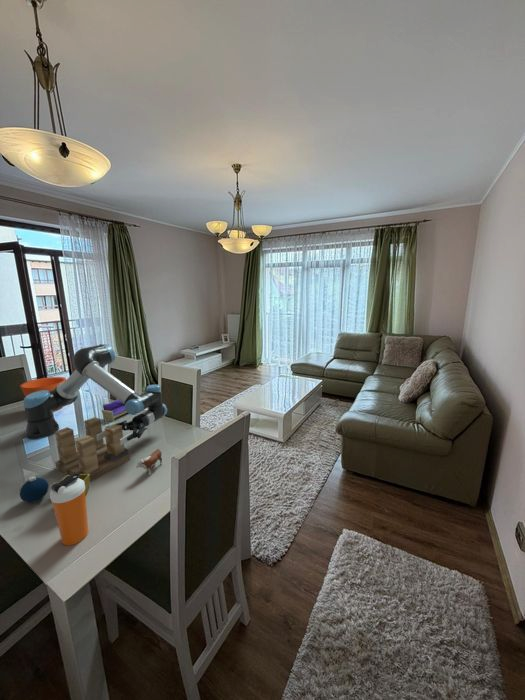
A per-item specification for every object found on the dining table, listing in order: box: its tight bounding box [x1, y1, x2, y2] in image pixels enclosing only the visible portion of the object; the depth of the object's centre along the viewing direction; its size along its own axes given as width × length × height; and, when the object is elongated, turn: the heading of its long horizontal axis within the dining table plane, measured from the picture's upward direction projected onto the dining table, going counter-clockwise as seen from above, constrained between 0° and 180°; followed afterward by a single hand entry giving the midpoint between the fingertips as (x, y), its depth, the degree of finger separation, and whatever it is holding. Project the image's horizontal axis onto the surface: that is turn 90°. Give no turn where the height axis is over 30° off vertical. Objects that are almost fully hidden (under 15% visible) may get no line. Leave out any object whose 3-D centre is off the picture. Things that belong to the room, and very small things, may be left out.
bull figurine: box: [135, 449, 163, 477], centre depth 122 cm, size 4×13×8 cm, turn 158°
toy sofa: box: [101, 399, 128, 422], centre depth 182 cm, size 21×9×10 cm, turn 157°
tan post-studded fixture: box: [54, 416, 131, 484], centre depth 127 cm, size 24×20×17 cm
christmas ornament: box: [19, 475, 49, 503], centre depth 105 cm, size 8×8×10 cm
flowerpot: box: [19, 376, 67, 413], centre depth 191 cm, size 25×25×20 cm
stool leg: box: [103, 423, 126, 457], centre depth 128 cm, size 5×5×14 cm
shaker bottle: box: [49, 474, 89, 546], centre depth 87 cm, size 9×9×20 cm
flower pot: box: [60, 474, 91, 498], centre depth 103 cm, size 9×9×9 cm
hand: (108, 440), depth 124 cm, fingers open, 13 cm apart
